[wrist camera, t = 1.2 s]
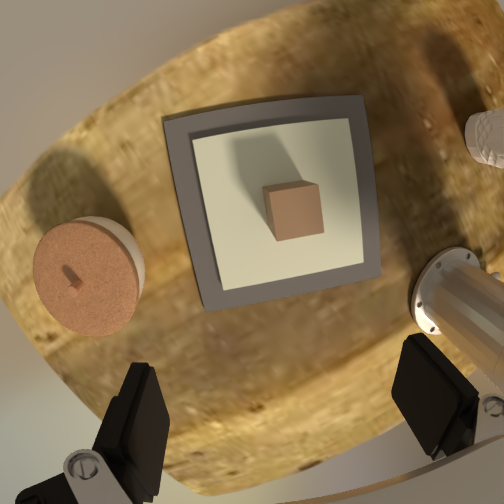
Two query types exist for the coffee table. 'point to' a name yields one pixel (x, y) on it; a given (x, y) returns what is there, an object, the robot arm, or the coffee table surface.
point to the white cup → (486, 137)
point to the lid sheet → (246, 207)
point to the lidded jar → (89, 275)
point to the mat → (194, 208)
